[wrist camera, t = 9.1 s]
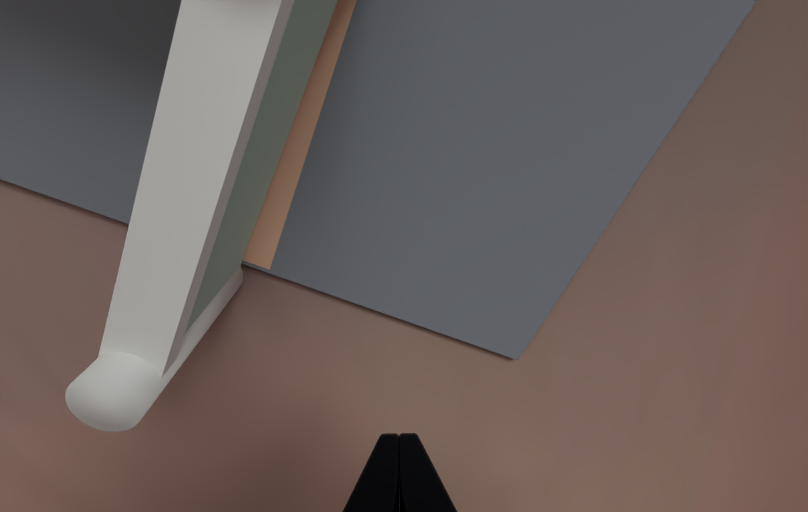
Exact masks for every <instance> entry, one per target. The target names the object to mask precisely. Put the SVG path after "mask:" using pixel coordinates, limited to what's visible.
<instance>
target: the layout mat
mask: <svg viewBox="0 0 808 512" xmlns="http://www.w3.org/2000/svg"><path fill="white" fill-rule="evenodd" d="M181 1H182V0H0V179H1V180H4V181H7V182H10V183H12V184H15V185H18V186H21V187H24V188H27V189H30V190H32V191H35V192H38V193H41V194H44V195H47V196H50V197H52V198H55V199H58V200H61V201H64V202H67V203H70V204H73V205H75V206H78V207H81V208H84V209H87V210H90V211H93V212H95V213H98V214H101V215H104V216H107V217H110V218H113V219H115V220H118V221H121V222H124V223H127V224H129V223H130V219H131V215H132V210H133V206H134V202H135V198H136V193H137V189H138V185H139V180H140V176H141V172H142V168H143V163H144V159H145V155H146V151H147V146H148V142H149V138H150V133H151V129H152V125H153V121H154V116H155V112H156V108H157V103H158V99H159V95H160V91H161V86H162V82H163V78H164V73H165V69H166V65H167V61H168V56H169V52H170V48H171V44H172V39H173V35H174V31H175V26H176V22H177V18H178V14H179V9H180V5H181ZM756 1H757V0H338V1H337V4H336V7H335V9H334V12H333V15H332V18H331V20H330V23H329V26H328V29H327V31H326V34H325V37H324V39H323V42H322V45H321V48H320V50H319V53H318V56H317V59H316V61H315V64H314V67H313V69H312V72H311V75H310V78H309V80H308V83H307V86H306V89H305V91H304V94H303V97H302V99H301V102H300V105H299V108H298V110H297V113H296V116H295V119H294V121H293V124H292V127H291V129H290V132H289V135H288V138H287V140H286V143H285V146H284V149H283V151H282V154H281V157H280V159H279V162H278V165H277V168H276V170H275V173H274V176H273V179H272V181H271V184H270V187H269V189H268V192H267V195H266V198H265V200H264V203H263V206H262V209H261V211H260V214H259V217H258V219H257V222H256V225H255V228H254V230H253V233H252V236H251V239H250V241H249V244H248V247H247V249H246V252H245V255H244V258H243V260H242V263H241V264H244V265H247V266H250V267H253V268H256V269H258V270H261V271H264V272H267V273H270V274H273V275H276V276H278V277H281V278H284V279H287V280H290V281H293V282H296V283H298V284H301V285H304V286H307V287H310V288H313V289H316V290H318V291H321V292H324V293H327V294H330V295H333V296H336V297H338V298H341V299H344V300H347V301H350V302H353V303H356V304H358V305H361V306H364V307H367V308H370V309H373V310H376V311H378V312H381V313H384V314H387V315H390V316H393V317H396V318H398V319H401V320H404V321H407V322H410V323H413V324H416V325H418V326H421V327H424V328H427V329H430V330H433V331H436V332H439V333H441V334H444V335H447V336H450V337H453V338H456V339H459V340H461V341H464V342H467V343H470V344H473V345H476V346H479V347H481V348H484V349H487V350H490V351H493V352H496V353H499V354H501V355H504V356H507V357H510V358H513V359H516V360H518V359H519V358H520V356H521V355H522V353H523V352H524V350H525V349H526V347H527V346H528V344H529V343H530V341H531V340H532V338H533V337H534V335H535V334H536V332H537V331H538V329H539V328H540V326H541V325H542V323H543V322H544V320H545V319H546V317H547V316H548V314H549V313H550V311H551V310H552V308H553V307H554V305H555V303H556V302H557V300H558V299H559V297H560V296H561V294H562V293H563V291H564V290H565V288H566V287H567V285H568V284H569V282H570V281H571V279H572V278H573V276H574V275H575V273H576V272H577V270H578V269H579V267H580V266H581V264H582V263H583V261H584V260H585V258H586V257H587V255H588V254H589V252H590V251H591V249H592V248H593V246H594V245H595V243H596V242H597V240H598V239H599V237H600V236H601V234H602V233H603V231H604V230H605V228H606V227H607V225H608V224H609V222H610V221H611V219H612V218H613V216H614V215H615V213H616V212H617V210H618V209H619V207H620V206H621V204H622V203H623V201H624V200H625V198H626V197H627V195H628V194H629V192H630V191H631V189H632V188H633V186H634V185H635V183H636V182H637V180H638V178H639V177H640V175H641V174H642V172H643V171H644V169H645V168H646V166H647V165H648V163H649V162H650V160H651V159H652V157H653V156H654V154H655V153H656V151H657V150H658V148H659V147H660V145H661V144H662V142H663V141H664V139H665V138H666V136H667V135H668V133H669V132H670V130H671V129H672V127H673V126H674V124H675V123H676V121H677V120H678V118H679V117H680V115H681V114H682V112H683V111H684V109H685V108H686V106H687V105H688V103H689V102H690V100H691V99H692V97H693V96H694V94H695V93H696V91H697V90H698V88H699V87H700V85H701V84H702V82H703V81H704V79H705V78H706V76H707V75H708V73H709V72H710V70H711V69H712V67H713V66H714V64H715V63H716V61H717V60H718V58H719V57H720V55H721V53H722V52H723V50H724V49H725V47H726V46H727V44H728V43H729V41H730V40H731V38H732V37H733V35H734V34H735V32H736V31H737V29H738V28H739V26H740V25H741V23H742V22H743V20H744V19H745V17H746V16H747V14H748V13H749V11H750V10H751V8H752V7H753V5H754V4H755V2H756Z"/></svg>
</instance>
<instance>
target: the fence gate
mask: <svg viewBox="0 0 808 512" xmlns="http://www.w3.org/2000/svg"><path fill="white" fill-rule="evenodd" d="M337 1H338V0H182V1H181V5H180V9H179V14H178V18H177V22H176V26H175V31H174V35H173V39H172V44H171V48H170V52H169V56H168V61H167V65H166V69H165V73H164V78H163V82H162V86H161V91H160V95H159V99H158V103H157V108H156V112H155V116H154V121H153V125H152V129H151V133H150V138H149V142H148V146H147V151H146V155H145V159H144V163H143V168H142V172H141V176H140V180H139V185H138V189H137V193H136V198H135V202H134V206H133V210H132V215H131V219H130V223H129V228H128V232H127V236H126V240H125V245H124V249H123V253H122V258H121V262H120V266H119V270H118V275H117V279H116V283H115V287H114V292H113V296H112V300H111V305H110V309H109V313H108V317H107V322H106V326H105V330H104V335H103V339H102V343H101V347H100V352H99V356H98V358H97V359H96V360H95V361H94V362H93V363H92V364H91V365H90V366H89V367H88V368H87V369H86V370H85V371H83V372H82V373H81V374H80V375H79V376H78V377H77V378H76V379H75V380H74V381H73V382H72V383H71V384H70V385H69V386H68V388H67V389H66V393H65V400H66V404H67V406H68V408H69V410H70V411H71V412H72V414H73V415H74V416H75V417H76V418H77V419H79V420H80V421H81V422H83V423H84V424H86V425H88V426H90V427H93V428H95V429H98V430H102V431H108V432H121V431H126V430H129V429H131V428H133V427H134V426H136V425H137V424H138V423H139V422H140V420H141V419H142V418H143V416H144V415H145V414H146V412H147V411H148V410H149V408H150V407H151V406H152V404H153V403H154V402H155V400H156V399H157V398H158V396H159V395H160V394H161V392H162V391H163V389H164V388H165V387H166V385H167V384H168V383H169V381H170V380H171V379H172V377H173V376H174V375H175V373H176V372H177V371H178V369H179V368H180V367H181V365H182V364H183V363H184V361H185V360H186V359H187V357H188V356H189V355H190V353H191V352H192V350H193V349H194V348H195V346H196V345H197V344H198V342H199V341H200V340H201V338H202V337H203V336H204V334H205V333H206V332H207V330H208V329H209V328H210V326H211V325H212V324H213V322H214V321H215V320H216V318H217V317H218V316H219V314H220V313H221V311H222V310H223V309H224V307H225V306H226V305H227V303H228V302H229V301H230V299H231V298H232V297H233V295H234V294H235V293H236V291H237V290H238V289H239V287H240V286H241V284H242V282H243V279H244V274H243V270H242V268H241V263H242V260H243V258H244V255H245V252H246V249H247V247H248V244H249V241H250V239H251V236H252V233H253V230H254V228H255V225H256V222H257V219H258V217H259V214H260V211H261V209H262V206H263V203H264V200H265V198H266V195H267V192H268V189H269V187H270V184H271V181H272V179H273V176H274V173H275V170H276V168H277V165H278V162H279V159H280V157H281V154H282V151H283V149H284V146H285V143H286V140H287V138H288V135H289V132H290V129H291V127H292V124H293V121H294V119H295V116H296V113H297V110H298V108H299V105H300V102H301V99H302V97H303V94H304V91H305V89H306V86H307V83H308V80H309V78H310V75H311V72H312V69H313V67H314V64H315V61H316V59H317V56H318V53H319V50H320V48H321V45H322V42H323V39H324V37H325V34H326V31H327V29H328V26H329V23H330V20H331V18H332V15H333V12H334V9H335V7H336V4H337Z"/></svg>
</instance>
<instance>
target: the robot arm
mask: <svg viewBox="0 0 808 512" xmlns="http://www.w3.org/2000/svg"><path fill="white" fill-rule="evenodd" d="M399 496H400V512H457V510H456V508H455V506H454V505H453V503H452V501H451V499H450V497H449V495H448V493H447V491H446V489H445V487H444V485H443V483H442V481H441V479H440V477H439V475H438V474H437V472H436V470H435V468H434V466H433V464H432V462H431V460H430V458H429V456H428V454H427V452H426V450H425V448H424V446H423V445H422V443H421V441H420V439H419V437H418V435H417V434H415V433H402V434H400V435H399V436H398V434H382V435H381V436H380V437H379V439H378V441H377V443H376V445H375V447H374V449H373V451H372V453H371V455H370V457H369V459H368V461H367V463H366V465H365V467H364V469H363V471H362V473H361V475H360V477H359V479H358V481H357V483H356V485H355V488H354V490H353V492H352V494H351V496H350V498H349V500H348V502H347V504H346V506H345V508H344V510H343V512H399Z"/></svg>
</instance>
